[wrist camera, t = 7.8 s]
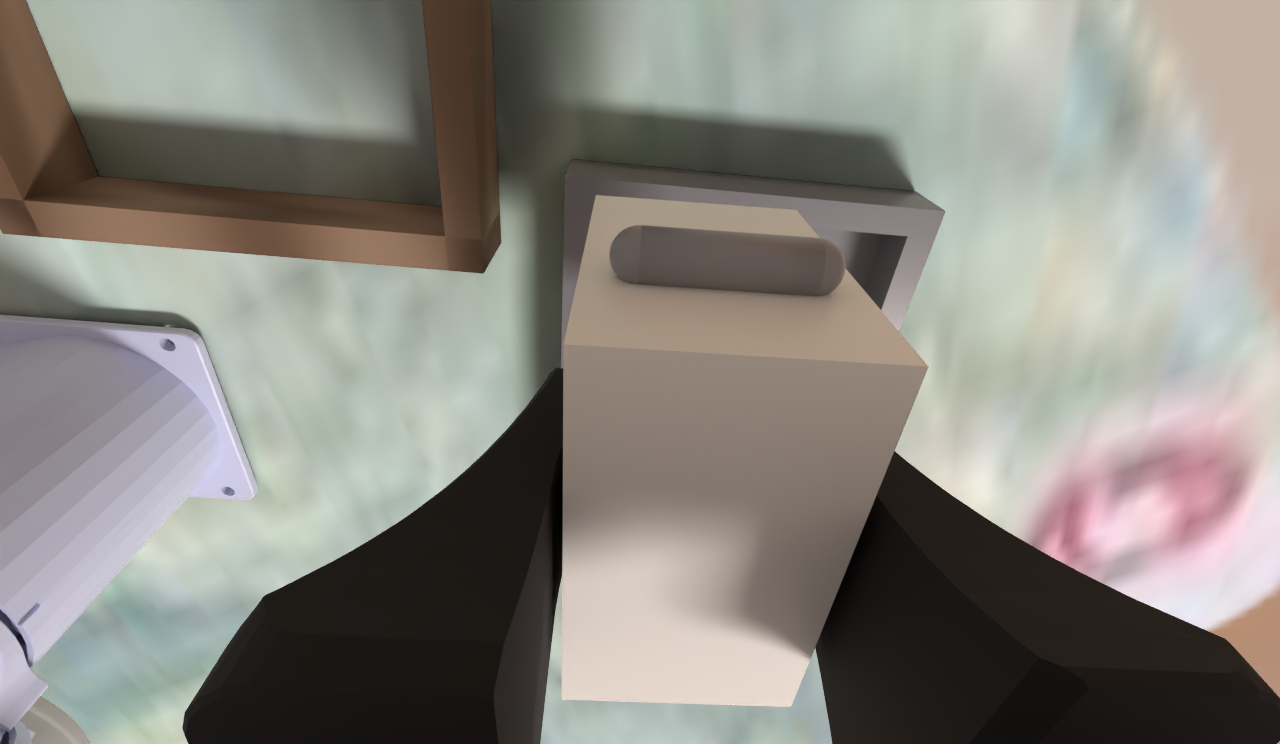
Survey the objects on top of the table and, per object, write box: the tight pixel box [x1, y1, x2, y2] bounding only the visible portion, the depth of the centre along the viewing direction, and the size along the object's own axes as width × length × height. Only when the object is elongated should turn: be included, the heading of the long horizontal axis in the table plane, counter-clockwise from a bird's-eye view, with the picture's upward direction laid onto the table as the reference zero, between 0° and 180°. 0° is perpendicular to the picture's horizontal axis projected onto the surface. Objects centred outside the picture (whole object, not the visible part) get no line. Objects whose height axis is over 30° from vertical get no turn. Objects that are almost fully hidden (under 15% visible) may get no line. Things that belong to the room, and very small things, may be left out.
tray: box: [561, 159, 945, 368], centre depth 20 cm, size 11×12×2 cm
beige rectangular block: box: [562, 195, 928, 707], centre depth 10 cm, size 4×8×6 cm, turn 176°
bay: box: [0, 0, 501, 273], centre depth 14 cm, size 13×10×2 cm
